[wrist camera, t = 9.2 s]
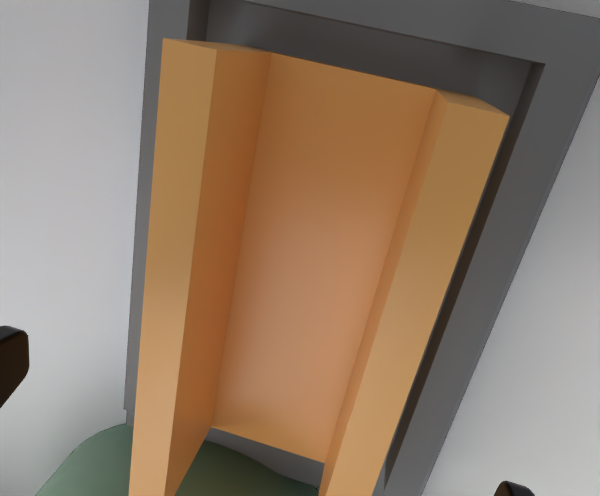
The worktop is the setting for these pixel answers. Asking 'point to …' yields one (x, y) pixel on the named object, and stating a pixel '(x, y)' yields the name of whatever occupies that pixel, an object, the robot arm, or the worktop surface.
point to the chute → (296, 255)
